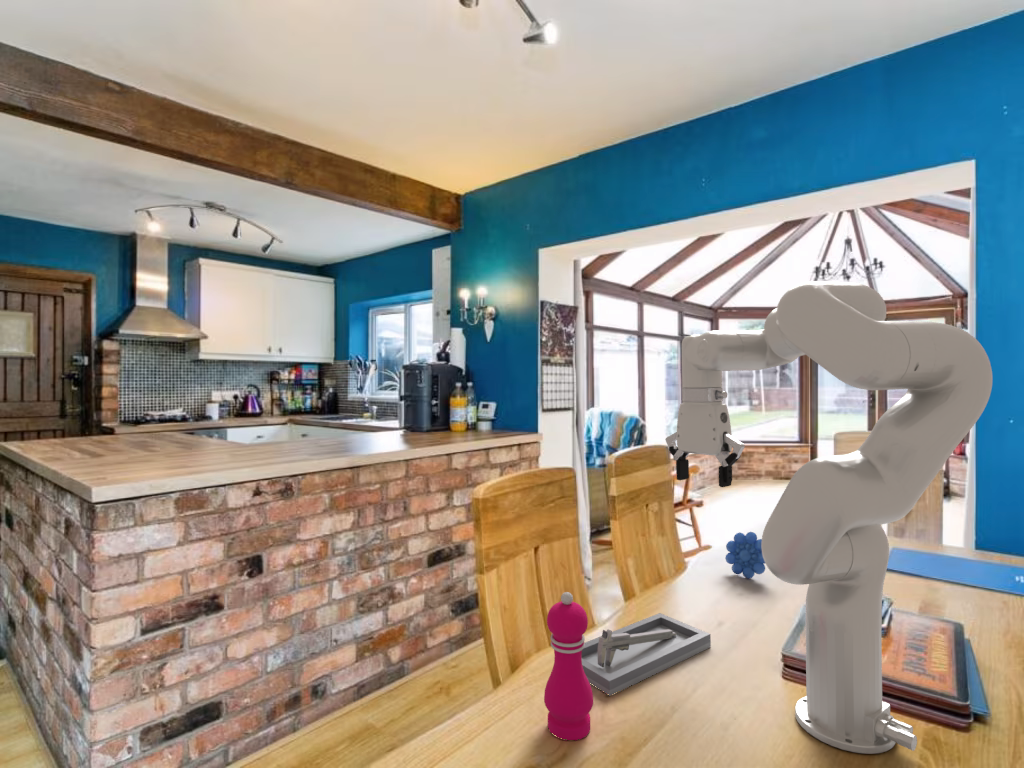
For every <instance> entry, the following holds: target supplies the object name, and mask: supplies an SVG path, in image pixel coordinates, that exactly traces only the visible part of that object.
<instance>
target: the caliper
mask: <svg viewBox="0 0 1024 768" xmlns="http://www.w3.org/2000/svg"><path fill="white" fill-rule="evenodd" d="M612 632H613V630H611V629H609V628H608V629H606V630H605V629H602V634H601V635H600V636H601V637H600V636H599V643H598V665H600V666H601V667H604V662H605V665H607V666H610V665H611V663H612V660H613V657H614V654H615V651H616V649H619V650H622V651H623V650H628V649H629V645H633V644H640V643H646V642H652V641H659V640H666V639H672V636H675V635H677V634H676V633H675V632H673V631H672V630H669V629H666V630H659V631H652V632H645V633H638V634H631V635H630V634H628V633H620V634H612ZM606 650H607V651H606ZM605 656H606V658H605ZM605 659H606V660H605Z"/></svg>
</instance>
